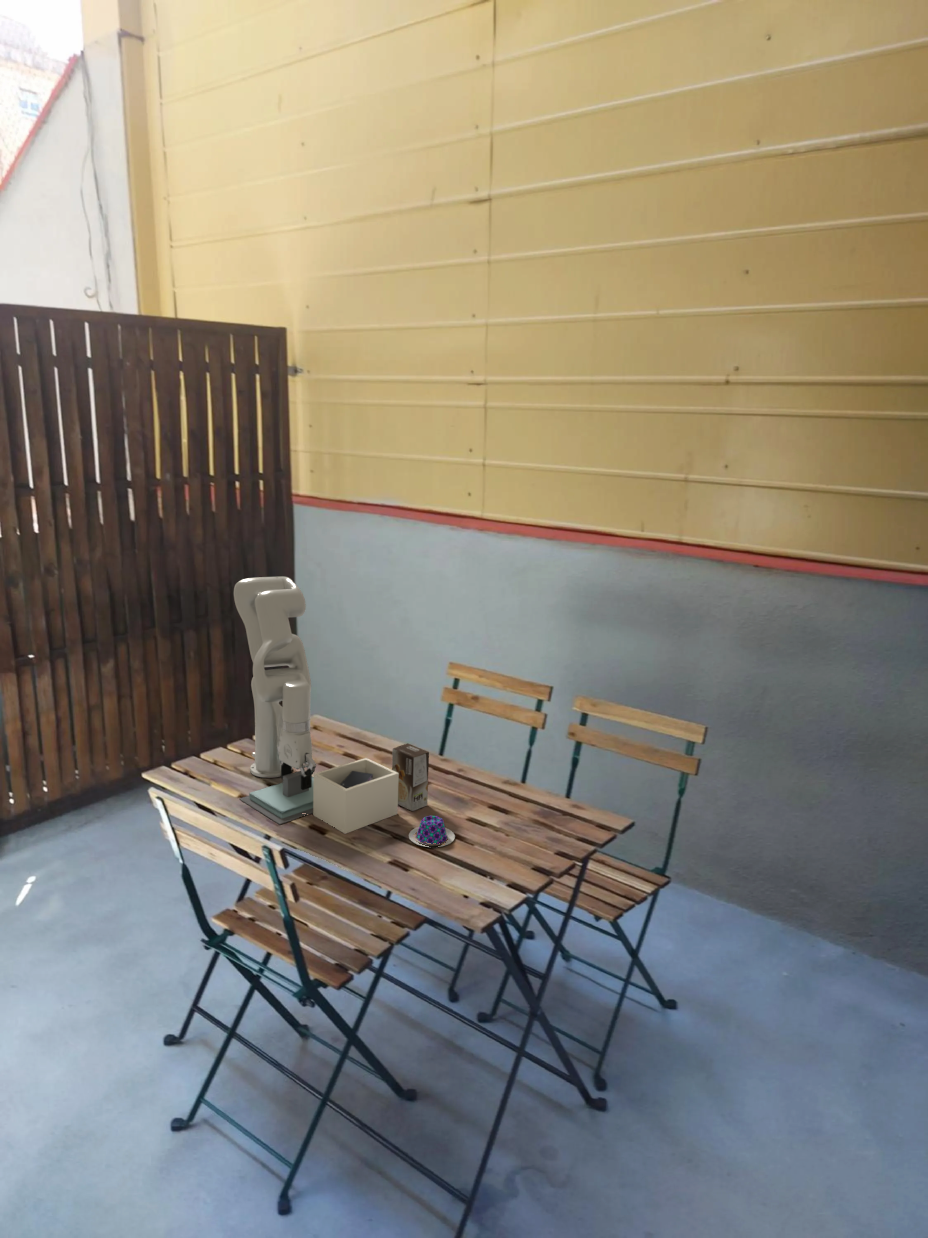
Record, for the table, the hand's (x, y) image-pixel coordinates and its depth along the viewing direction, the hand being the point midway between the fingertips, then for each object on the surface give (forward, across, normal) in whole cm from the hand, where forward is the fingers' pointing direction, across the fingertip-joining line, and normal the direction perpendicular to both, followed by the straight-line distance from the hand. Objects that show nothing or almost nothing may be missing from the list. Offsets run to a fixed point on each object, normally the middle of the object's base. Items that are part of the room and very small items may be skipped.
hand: (296, 782), depth 233 cm
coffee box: (+5, +22, +23) cm, 32 cm away
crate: (+5, +18, +7) cm, 20 cm away
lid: (+5, 0, 0) cm, 5 cm away
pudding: (+6, +41, +14) cm, 44 cm away
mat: (+5, 0, 0) cm, 5 cm away
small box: (+5, +18, +7) cm, 20 cm away
